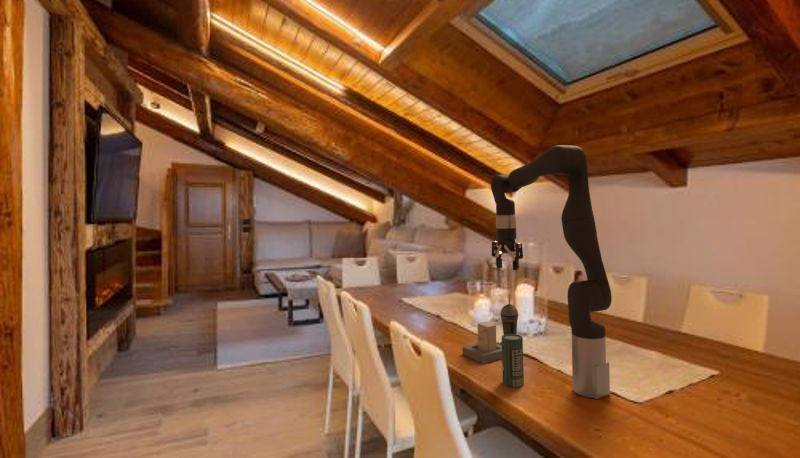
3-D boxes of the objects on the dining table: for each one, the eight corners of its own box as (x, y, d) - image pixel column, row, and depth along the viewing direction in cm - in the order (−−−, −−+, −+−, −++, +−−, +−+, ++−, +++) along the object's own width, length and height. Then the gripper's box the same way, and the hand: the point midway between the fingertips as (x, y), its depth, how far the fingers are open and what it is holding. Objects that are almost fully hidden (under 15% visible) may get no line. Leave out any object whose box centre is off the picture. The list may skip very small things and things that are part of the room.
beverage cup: (517, 339, 177) (516, 291, 176) (520, 345, 169) (519, 295, 168) (499, 339, 177) (498, 292, 176) (502, 345, 170) (500, 296, 169)
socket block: (510, 356, 157) (510, 348, 157) (483, 363, 151) (483, 355, 151) (488, 347, 168) (488, 340, 168) (462, 354, 161) (462, 346, 161)
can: (515, 378, 137) (514, 332, 137) (527, 385, 132) (526, 337, 131) (499, 381, 135) (498, 335, 135) (511, 389, 130) (509, 340, 129)
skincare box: (477, 354, 161) (476, 322, 160) (486, 352, 163) (485, 321, 162) (488, 359, 155) (486, 326, 155) (497, 357, 157) (496, 324, 157)
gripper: (527, 226, 158) (528, 269, 158) (499, 226, 170) (501, 266, 171) (512, 227, 154) (513, 272, 154) (485, 227, 166) (487, 268, 167)
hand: (507, 269), depth 163 cm, fingers open, 8 cm apart
